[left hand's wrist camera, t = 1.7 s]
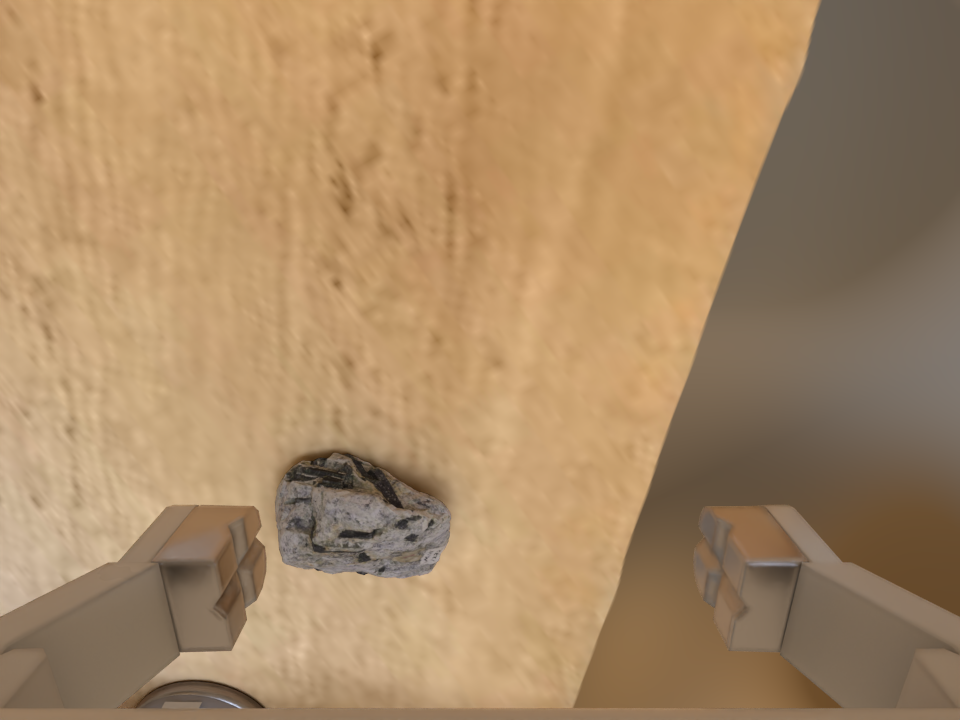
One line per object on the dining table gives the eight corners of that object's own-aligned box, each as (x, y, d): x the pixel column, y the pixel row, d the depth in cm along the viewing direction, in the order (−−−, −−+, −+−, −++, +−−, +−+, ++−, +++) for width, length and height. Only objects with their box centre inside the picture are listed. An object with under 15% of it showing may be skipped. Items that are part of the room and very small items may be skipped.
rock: (273, 533, 51) (245, 592, 45) (291, 436, 48) (264, 485, 41) (433, 566, 53) (429, 627, 47) (462, 475, 50) (462, 528, 43)
